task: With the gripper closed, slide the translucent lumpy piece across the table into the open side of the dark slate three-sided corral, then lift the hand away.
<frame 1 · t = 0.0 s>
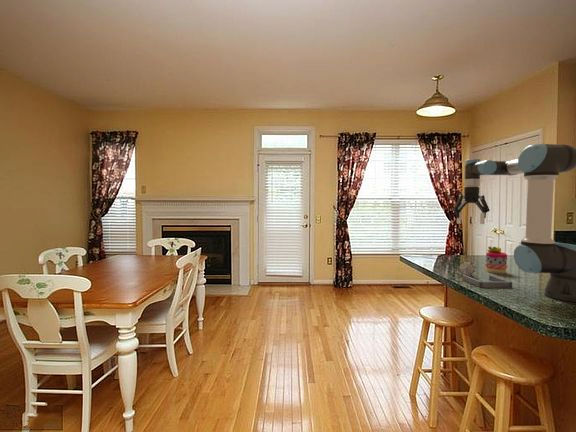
hand: (470, 223, 187), 28 cm above the countertop, tool pointing down, fingers open, 13 cm apart
translucent lumpy piece: (466, 276, 179), on the countertop
corral: (485, 283, 163), on the countertop
cake: (495, 272, 191), on the countertop
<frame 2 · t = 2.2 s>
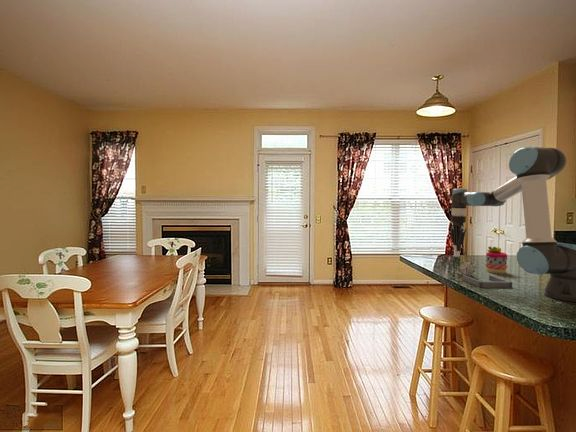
hand: (456, 256, 189), 9 cm above the countertop, tool pointing down, fingers closed
nothing on the countertop moved.
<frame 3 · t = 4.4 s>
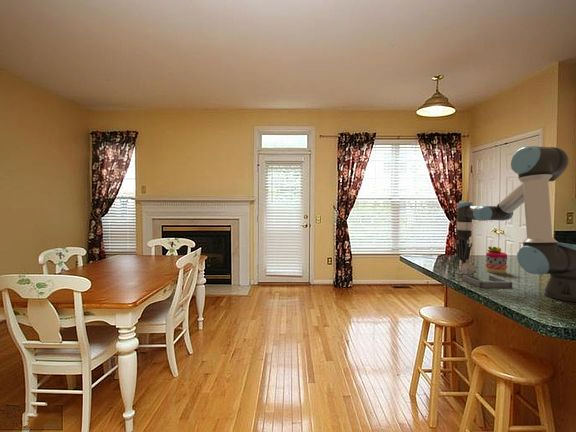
hand: (462, 271, 184), 2 cm above the countertop, tool pointing down, fingers closed
translucent lumpy piece: (467, 276, 178), on the countertop, touching gripper
everything else where it was.
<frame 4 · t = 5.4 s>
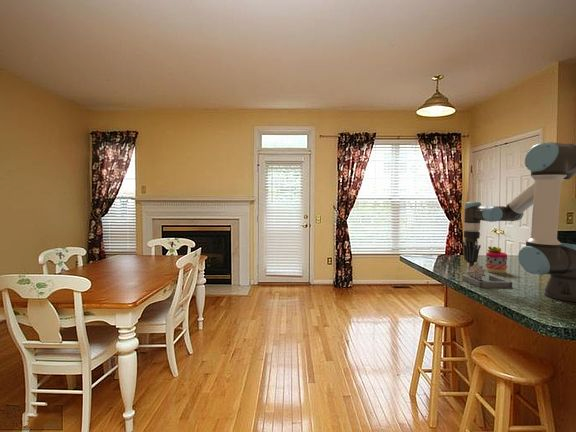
hand: (469, 274, 176), 2 cm above the countertop, tool pointing down, fingers closed
translucent lumpy piece: (475, 279, 171), on the countertop, touching gripper
everything else where it was.
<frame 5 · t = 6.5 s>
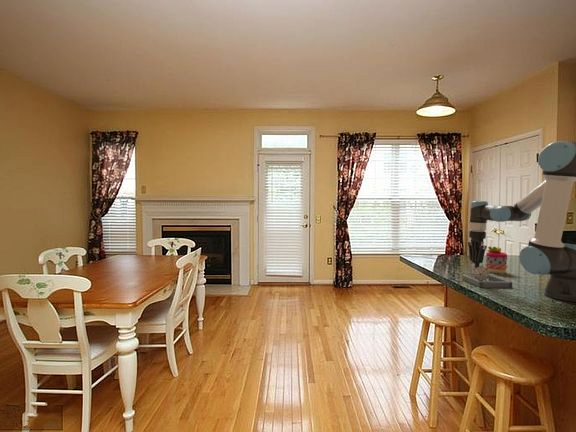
hand: (475, 275, 172), 2 cm above the countertop, tool pointing down, fingers closed
translucent lumpy piece: (479, 281, 167), on the countertop, touching gripper
everything else where it was.
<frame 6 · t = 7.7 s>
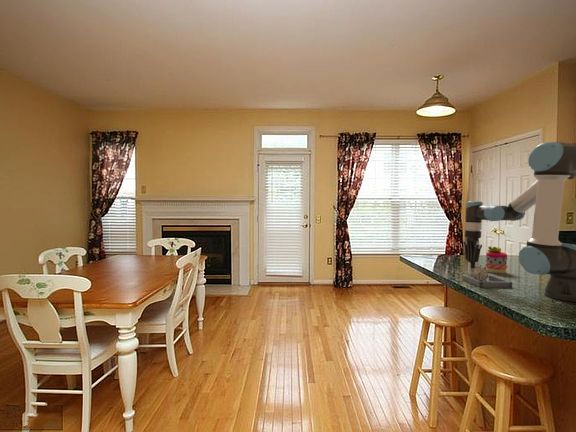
hand: (471, 274, 175), 2 cm above the countertop, tool pointing down, fingers closed
translucent lumpy piece: (479, 281, 167), on the countertop
everything else where it was.
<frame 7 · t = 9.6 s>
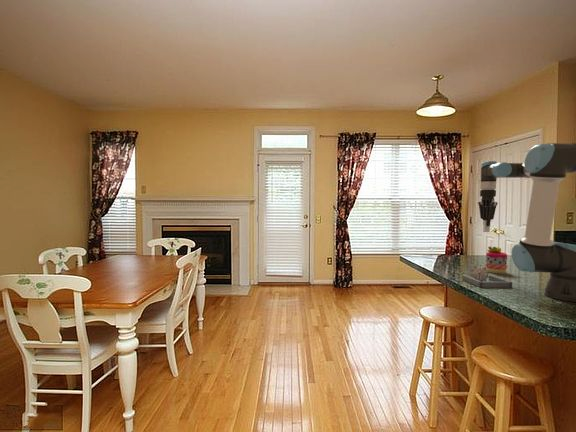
hand: (486, 231, 182), 24 cm above the countertop, tool pointing down, fingers closed
nothing on the countertop moved.
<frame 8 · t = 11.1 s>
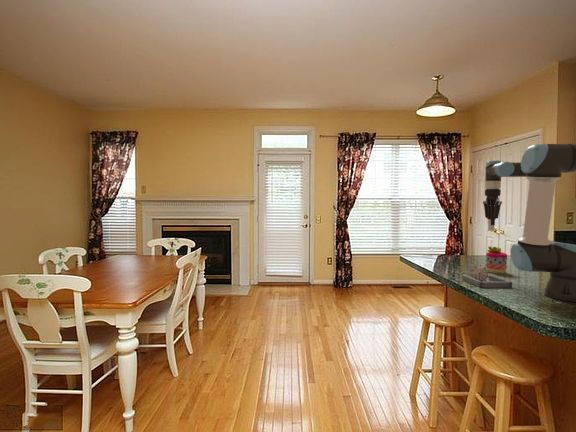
hand: (490, 230, 184), 24 cm above the countertop, tool pointing down, fingers closed
nothing on the countertop moved.
at the end: translucent lumpy piece inside the target area on the corral (3.6 cm from its centre), point 0.0 cm above the corral's base; translucent lumpy piece tilted 2° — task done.
